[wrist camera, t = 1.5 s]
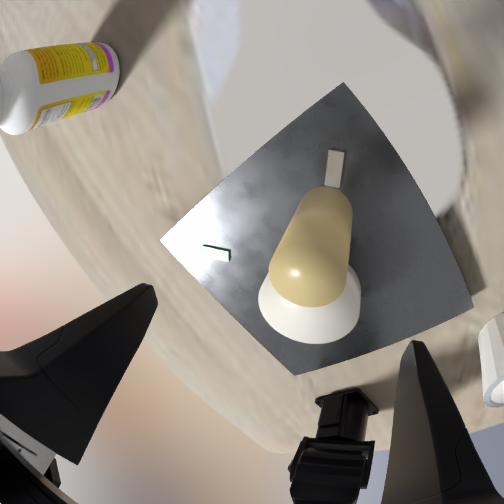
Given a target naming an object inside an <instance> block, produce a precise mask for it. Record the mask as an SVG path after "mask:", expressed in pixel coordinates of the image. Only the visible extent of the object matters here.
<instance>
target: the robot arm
mask: <svg viewBox="0 0 504 504" xmlns="http://www.w3.org/2000/svg"><path fill="white" fill-rule="evenodd" d="M157 305H158V300H157V297H156V294H155V291H154V288H153V286H152V285H149V284H146V283H141V284H139V285H137V286H135V287H133V288H132V289H130V290H128V291H126V292H124V293H122V294H120V295H118V296H117V297H115V298H113V299H111V300H109V301H107V302H106V303H104V304H102V305H100V306H98V307H96V308H94V309H92V310H91V311H89V312H87V313H85V314H83V315H82V316H80V317H78V318H76V319H74V320H72V321H71V322H69V323H67V324H65V325H64V326H61V327H60V328H58V329H56V330H54V331H52V332H50V333H48V334H47V335H44V336H42V337H41V338H38V339H36V340H34V341H32V342H29V343H27V344H25V345H23V346H21V347H18V348H16V349H14V350H11V351H3V352H2V351H1V352H0V503H1V504H78V503H76V502H75V501H74V500H72V499H71V498H70V497H68V496H67V495H66V494H65V493H63V492H62V491H61V490H60V489H58V488H59V486H60V484H61V481H60V477H59V472H58V468H57V463H56V459H55V458H54V457H55V455H56V454H58V455H60V456H62V457H64V458H65V459H67V460H69V461H71V462H73V463H74V464H76V465H78V464H79V462H80V460H81V458H82V456H83V454H84V452H85V450H86V448H87V446H88V443H89V442H90V440H91V437H92V435H93V433H94V431H95V429H96V427H97V425H98V423H99V421H100V419H101V417H102V415H103V413H104V411H105V409H106V407H107V405H108V403H109V401H110V400H111V398H112V396H113V394H114V392H115V390H116V388H117V386H118V384H119V382H120V380H121V379H122V377H123V375H124V373H125V371H126V369H127V367H128V366H129V364H130V362H131V360H132V358H133V357H134V354H135V353H136V351H137V349H138V348H139V346H140V344H141V342H142V340H143V338H144V336H145V334H146V331H147V329H148V327H149V324H150V322H151V320H152V317H153V315H154V313H155V311H156V308H157ZM315 403H316V404H317V405H318V406H319V407H321V408H322V409H321V413H320V417H319V421H318V430H317V434H316V438H309V437H305V436H304V438H303V440H302V441H301V442H300V445H299V447H298V450H297V452H296V454H295V456H294V459H293V460H292V461H291V463H290V465H289V466H288V470H289V472H290V481H291V482H292V484H291V487H290V494H291V497H292V500H293V502H294V504H356V503H357V499H358V495H359V491H360V489H367V485H368V481H369V476H370V471H371V465H372V459H373V452H374V445H375V441H364V440H365V434H366V427H367V420H368V416H371V415H375V414H378V413H379V409H378V408H377V407H376V406H375V405H374V404H373V403H372V402H371V401H370V400H369V399H368V398H367V397H366V396H365V395H364V394H363V393H362V392H361V391H360V390H359V389H353V390H350V391H346V392H342V393H338V394H333V395H329V396H325V397H320V398H316V399H315ZM366 458H367V459H366ZM381 504H504V498H503V497H502V496H501V495H500V494H499V493H498V492H497V490H496V489H495V487H494V485H493V483H492V481H491V479H490V477H489V475H488V473H487V471H486V469H485V467H484V465H483V463H482V461H481V459H480V457H479V455H478V453H477V451H476V449H475V447H474V444H473V442H472V440H471V438H470V435H469V433H468V431H467V428H465V424H464V422H463V419H462V417H461V415H460V413H459V411H458V408H457V406H456V404H455V402H454V400H453V398H452V396H451V394H450V392H449V390H448V387H447V385H446V383H445V381H444V380H443V378H442V376H441V374H440V372H439V370H438V368H437V366H436V364H435V362H434V360H433V358H432V357H431V355H430V353H429V351H428V349H427V347H426V346H425V344H424V343H423V342H422V341H415V340H412V341H411V342H410V343H409V345H408V347H407V348H406V350H405V352H404V353H403V355H402V358H401V363H400V371H399V378H398V384H397V390H396V397H395V404H394V416H393V428H392V437H391V446H390V454H389V461H388V468H387V474H386V480H385V486H384V492H383V497H382V502H381Z"/></svg>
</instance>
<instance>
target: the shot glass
mask: <svg viewBox="0 0 504 504" xmlns="http://www.w3.org/2000/svg"><path fill="white" fill-rule="evenodd" d="M478 343H479V351H480V359H481V370H482V382H483V399H484V403H485V404H486V405H488V406H489V407H502V406H504V313H501V314H499V315H497V316H495V317H494V318H492V319H491V320H490V321H489V322H487V323H486V324H485V326H484V327H483V329H482V330H481V331H480V334H479V337H478Z"/></svg>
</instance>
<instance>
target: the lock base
mask: <svg viewBox="0 0 504 504" xmlns="http://www.w3.org/2000/svg"><path fill="white" fill-rule="evenodd" d="M317 187H331V188H335V189H337V190H339V191H340V192H342V193H343V194H344V195H345V196H346V197H347V198H348V200H349V201H350V203H351V206H352V211H353V217H352V230H351V242H350V252H349V262H348V264H349V265H350V266H351V267H352V269H353V270H354V271H355V273H356V274H357V276H358V279H359V281H360V285H361V301H360V314H359V318H358V321H357V323H356V325H355V326H354V328H353V329H352V330H351V331H350V332H349V333H348V334H347V335H345V336H344V337H342V338H340V339H338V340H336V341H333V342H329V343H323V344H309V343H303V342H299V341H295V340H292V339H290V338H288V337H286V336H284V335H282V334H280V333H279V332H277V331H276V330H275V329H274V328H272V327H271V326H270V325H269V323H268V322H267V321H266V320H265V318H264V317H263V315H262V313H261V311H260V308H259V303H258V296H259V291H260V288H261V286H262V284H263V282H264V280H265V278H266V276H267V274H268V272H269V264H270V261H271V259H272V257H273V255H274V253H275V251H276V249H277V247H278V245H279V243H280V241H281V239H282V237H283V235H284V233H285V231H286V229H287V227H288V225H289V223H290V221H291V219H292V217H293V215H294V213H295V211H296V209H297V207H298V205H299V203H300V201H301V199H302V198H303V196H304V195H305V194H306V193H307V192H308V191H310V190H311V189H314V188H317ZM161 242H162V243H163V244H164V245H165V246H166V247H167V248H168V249H169V250H170V251H171V253H172V254H173V255H174V256H175V257H176V258H177V259H178V260H179V261H180V262H181V263H182V264H183V266H184V267H185V268H186V269H187V270H188V271H189V272H190V273H191V274H192V275H193V276H194V277H195V278H196V279H197V280H198V281H199V282H200V283H201V285H202V286H203V287H204V288H205V289H206V290H207V291H208V292H209V293H210V294H211V295H212V296H213V297H214V298H215V299H216V300H217V301H218V302H219V303H220V304H221V305H222V306H223V307H224V308H225V309H226V310H227V311H228V312H229V313H230V314H231V315H232V316H233V317H234V318H235V319H236V320H237V321H238V322H239V323H240V324H241V325H242V326H243V327H244V328H245V329H246V330H247V331H248V332H249V333H250V334H251V335H252V336H253V337H254V338H255V339H256V340H257V341H258V342H259V343H260V344H261V345H263V346H264V347H265V348H266V349H267V350H268V351H269V352H270V353H271V354H272V355H273V356H274V357H275V358H276V359H277V360H278V361H279V362H280V363H282V364H283V365H284V366H285V367H286V368H287V369H288V370H289V371H290V372H291V373H292V374H293V375H299V374H302V373H306V372H310V371H313V370H317V369H320V368H323V367H327V366H330V365H333V364H337V363H340V362H343V361H346V360H349V359H352V358H355V357H358V356H361V355H364V354H367V353H369V352H372V351H375V350H378V349H380V348H383V347H386V346H388V345H391V344H394V343H396V342H399V341H401V340H404V339H406V338H409V337H411V336H414V335H416V334H418V333H421V332H423V331H425V330H428V329H430V328H432V327H434V326H437V325H439V324H441V323H443V322H445V321H447V320H450V319H452V318H454V317H456V316H458V315H460V314H462V313H464V312H466V311H468V310H470V309H472V308H474V305H473V302H472V299H471V296H470V294H469V291H468V288H467V286H466V283H465V281H464V278H463V276H462V273H461V271H460V268H459V266H458V264H457V261H456V259H455V257H454V255H453V252H452V250H451V248H450V246H449V244H448V242H447V240H446V238H445V235H444V233H443V231H442V229H441V227H440V225H439V223H438V221H437V220H436V218H435V216H434V214H433V212H432V210H431V208H430V207H429V205H428V203H427V201H426V199H425V197H424V196H423V194H422V192H421V190H420V189H419V187H418V185H417V184H416V182H415V180H414V179H413V177H412V175H411V174H410V172H409V171H408V169H407V167H406V166H405V164H404V163H403V161H402V160H401V158H400V156H399V155H398V153H397V152H396V150H395V149H394V147H393V146H392V145H391V143H390V142H389V140H388V139H387V137H386V136H385V134H384V133H383V132H382V130H381V129H380V128H379V126H378V125H377V123H376V122H375V121H374V119H373V118H372V117H371V115H370V114H369V113H368V111H367V110H366V109H365V108H364V106H363V105H362V104H361V103H360V101H359V100H358V99H357V98H356V97H355V95H354V94H353V93H352V92H351V90H350V89H349V88H348V87H347V86H346V84H345V83H342V84H340V85H339V86H338V87H336V88H335V89H334V90H332V91H331V92H330V93H329V94H327V95H326V96H324V97H323V98H322V99H320V100H319V101H318V102H316V103H315V104H314V105H313V106H312V107H310V108H309V109H307V110H306V111H305V112H304V113H302V114H301V115H300V116H299V117H297V118H296V119H295V120H294V121H292V122H291V123H290V124H289V125H287V126H286V127H285V128H284V129H283V130H281V131H280V132H279V133H278V134H277V135H275V136H274V137H273V138H272V139H271V140H269V141H268V142H267V143H266V144H264V145H263V146H262V147H261V148H260V149H259V150H257V151H256V152H255V153H254V154H253V155H252V156H250V157H249V158H248V159H247V160H246V161H245V162H244V163H242V164H241V165H240V166H239V167H238V168H237V169H236V170H235V171H233V172H232V173H231V174H230V175H229V176H228V177H227V178H225V179H224V180H223V181H222V182H221V183H220V184H219V185H218V186H217V187H216V188H214V189H213V190H212V191H211V192H210V193H209V194H208V195H207V196H206V197H205V198H204V199H203V200H202V201H200V202H199V203H198V204H197V205H196V206H195V207H194V208H193V209H192V210H191V211H190V212H189V213H188V214H187V215H186V216H185V217H184V218H183V219H182V220H181V221H179V222H178V223H177V224H176V225H175V226H174V227H173V228H172V229H171V230H170V231H169V232H168V233H167V234H166V235H165V236H164V237H163V238H162V239H161Z"/></svg>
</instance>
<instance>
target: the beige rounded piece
mask: <svg viewBox="0 0 504 504" xmlns="http://www.w3.org/2000/svg"><path fill="white" fill-rule="evenodd" d="M352 217H353V211H352V206H351V203H350V201H349V200H348V198H347V197H346V196H345V195H344V194H343V193H342V192H340V191H339V190H337V189H335V188H331V187H317V188H314V189H311V190H310V191H308V192H307V193H306V194H305V195H304V196H303V198H302V199H301V201H300V203H299V205H298V207H297V209H296V211H295V213H294V215H293V217H292V219H291V221H290V223H289V225H288V227H287V229H286V231H285V233H284V235H283V237H282V239H281V241H280V243H279V245H278V247H277V249H276V251H275V253H274V255H273V257H272V259H271V261H270V264H269V272H268V274H267V276H266V278H265V280H264V282H263V284H262V286H261V288H260V291H259V296H258V303H259V308H260V311H261V313H262V315H263V317H264V318H265V320H266V321H267V322H268V323H269V325H270V326H271V327H272V328H274V329H275V330H276V331H277V332H279V333H280V334H282V335H284V336H286V337H288V338H290V339H292V340H295V341H299V342H303V343H309V344H323V343H329V342H333V341H336V340H338V339H340V338H342V337H344V336H345V335H347V334H348V333H349V332H350V331H351V330H352V329H353V328H354V326H355V325H356V323H357V321H358V318H359V314H360V301H361V285H360V281H359V279H358V276H357V274H356V273H355V271H354V270H353V269H352V267H351V266H350V265H349V264H348V262H349V252H350V242H351V230H352Z"/></svg>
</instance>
